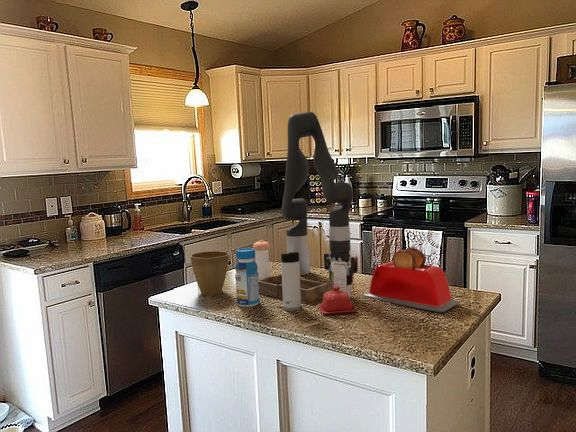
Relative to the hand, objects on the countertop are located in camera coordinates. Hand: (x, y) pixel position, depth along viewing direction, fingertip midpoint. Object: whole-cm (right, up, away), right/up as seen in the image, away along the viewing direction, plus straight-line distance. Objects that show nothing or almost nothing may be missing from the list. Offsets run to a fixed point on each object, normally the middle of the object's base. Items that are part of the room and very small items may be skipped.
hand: (341, 283), depth 175 cm
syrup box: (0, -6, +1) cm, 6 cm away
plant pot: (-49, -7, +15) cm, 52 cm away
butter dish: (-3, -8, -12) cm, 14 cm away
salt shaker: (-29, -5, +25) cm, 39 cm away
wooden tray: (-17, -6, +10) cm, 21 cm away
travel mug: (-18, -8, -8) cm, 21 cm away
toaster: (+24, -6, -4) cm, 25 cm away
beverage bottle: (-34, -8, -1) cm, 34 cm away
